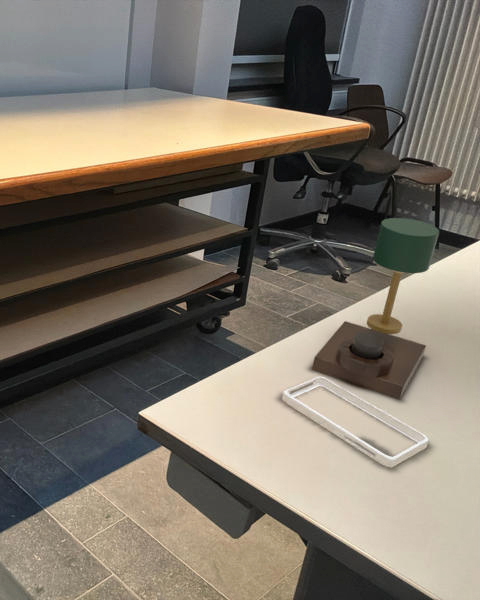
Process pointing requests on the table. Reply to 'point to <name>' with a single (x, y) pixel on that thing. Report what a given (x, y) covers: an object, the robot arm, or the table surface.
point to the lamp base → (370, 361)
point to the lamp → (401, 261)
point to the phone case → (365, 407)
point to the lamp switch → (367, 346)
